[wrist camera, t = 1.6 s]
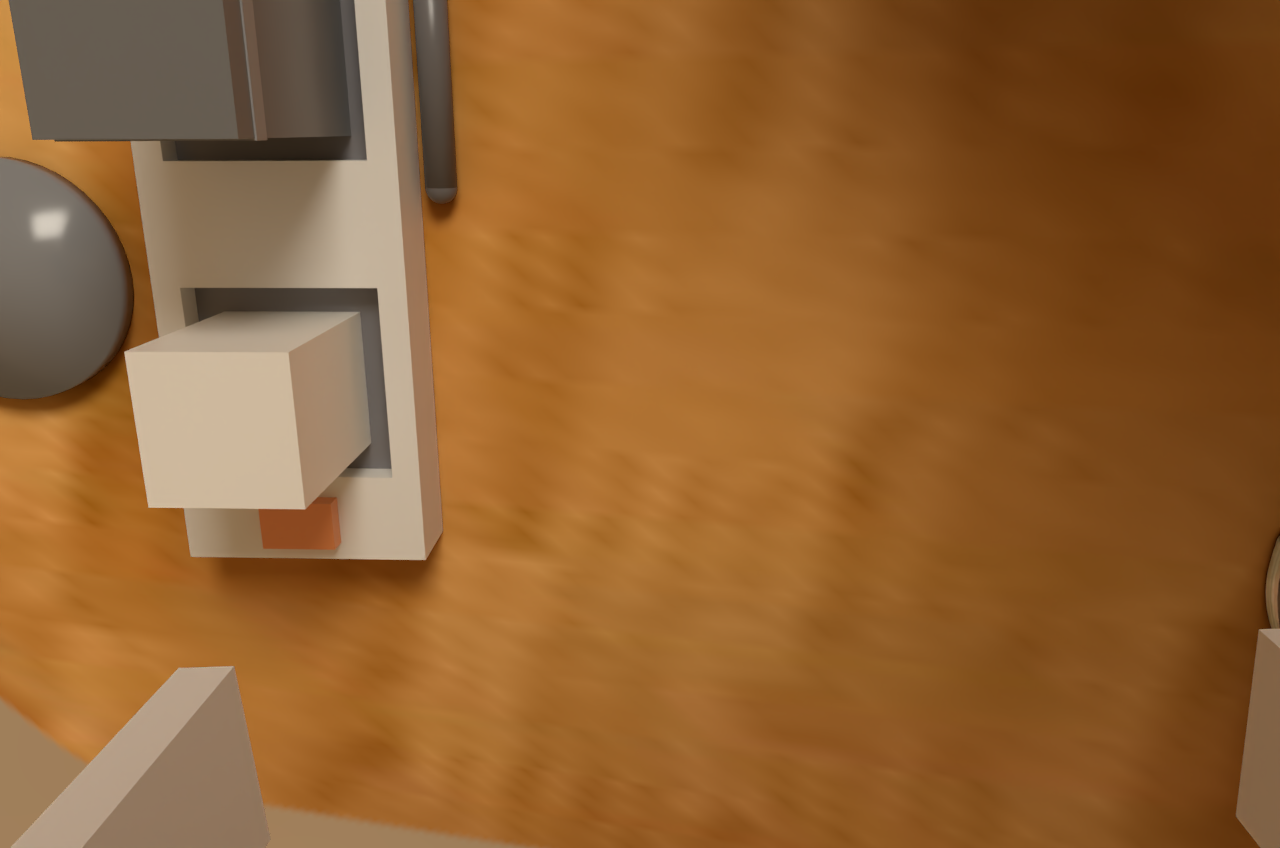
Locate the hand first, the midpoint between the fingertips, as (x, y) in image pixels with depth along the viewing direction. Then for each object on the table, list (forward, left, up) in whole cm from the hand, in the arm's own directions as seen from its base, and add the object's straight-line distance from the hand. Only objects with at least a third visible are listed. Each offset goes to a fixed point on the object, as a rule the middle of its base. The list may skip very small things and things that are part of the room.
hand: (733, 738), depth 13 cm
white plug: (0, -13, -20) cm, 24 cm away
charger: (-10, -13, -20) cm, 26 cm away
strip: (-5, -13, -21) cm, 26 cm away
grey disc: (-3, -23, -21) cm, 32 cm away
